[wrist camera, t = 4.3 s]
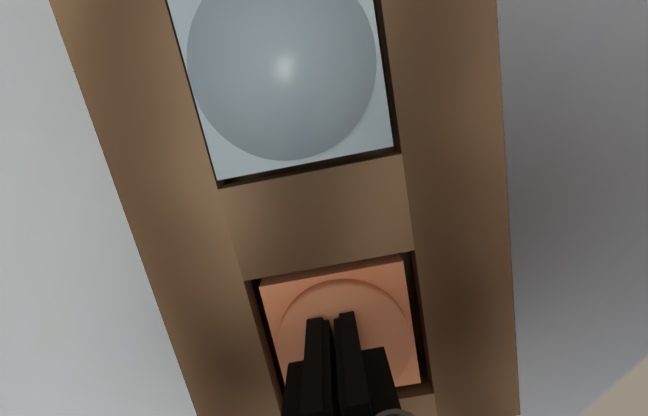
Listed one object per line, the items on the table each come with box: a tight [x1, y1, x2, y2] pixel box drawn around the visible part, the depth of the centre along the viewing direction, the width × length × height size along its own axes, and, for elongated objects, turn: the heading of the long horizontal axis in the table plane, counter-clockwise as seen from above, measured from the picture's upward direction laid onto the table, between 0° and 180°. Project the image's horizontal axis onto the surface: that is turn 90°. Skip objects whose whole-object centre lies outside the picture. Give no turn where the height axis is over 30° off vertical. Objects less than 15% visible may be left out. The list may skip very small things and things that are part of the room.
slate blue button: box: [167, 0, 393, 181], centre depth 10 cm, size 5×5×3 cm
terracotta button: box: [259, 253, 421, 387], centre depth 13 cm, size 5×5×3 cm
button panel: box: [49, 0, 520, 416], centre depth 12 cm, size 12×27×4 cm, turn 11°
